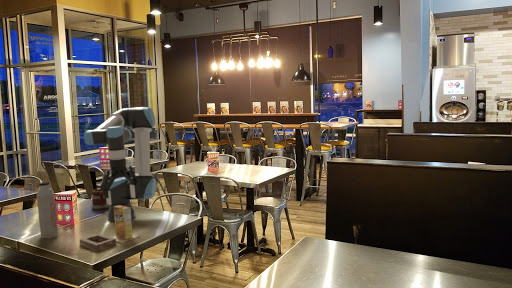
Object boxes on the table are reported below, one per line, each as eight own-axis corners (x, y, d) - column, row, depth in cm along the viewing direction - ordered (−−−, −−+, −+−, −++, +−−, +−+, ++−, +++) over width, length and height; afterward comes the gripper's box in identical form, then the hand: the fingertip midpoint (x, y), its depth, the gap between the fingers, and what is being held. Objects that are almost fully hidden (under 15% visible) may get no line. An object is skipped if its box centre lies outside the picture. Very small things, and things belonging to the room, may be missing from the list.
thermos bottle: (61, 233, 221) (56, 181, 218) (51, 238, 213) (45, 184, 210) (48, 233, 223) (42, 181, 220) (37, 238, 215) (31, 184, 212)
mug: (109, 203, 281) (107, 182, 277) (112, 212, 268) (111, 190, 265) (90, 206, 275) (88, 185, 271) (93, 215, 263) (91, 192, 259)
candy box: (115, 236, 210) (112, 206, 208) (122, 234, 213) (120, 204, 212) (126, 239, 205) (123, 208, 203) (133, 237, 208) (130, 206, 206)
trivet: (127, 233, 217) (127, 232, 217) (140, 236, 210) (140, 235, 210) (108, 239, 208) (108, 238, 208) (121, 243, 201) (120, 242, 201)
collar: (99, 239, 209) (98, 233, 208) (116, 245, 199) (115, 238, 199) (80, 245, 201) (79, 239, 201) (97, 251, 192) (96, 245, 191)
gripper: (134, 153, 216) (138, 194, 219) (89, 162, 197) (94, 206, 200) (143, 154, 212) (147, 195, 215) (98, 163, 193) (102, 208, 196)
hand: (121, 200), depth 207 cm, fingers open, 13 cm apart
